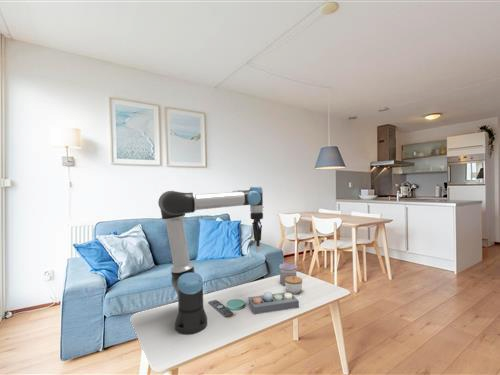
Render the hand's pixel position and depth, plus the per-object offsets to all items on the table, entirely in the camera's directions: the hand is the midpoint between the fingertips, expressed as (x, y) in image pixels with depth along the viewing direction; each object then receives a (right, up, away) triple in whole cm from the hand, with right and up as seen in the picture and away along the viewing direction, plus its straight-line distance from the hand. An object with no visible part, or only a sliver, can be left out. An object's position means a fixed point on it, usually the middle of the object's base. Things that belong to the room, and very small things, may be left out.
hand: (257, 251), depth 153 cm
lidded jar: (+22, -26, +4) cm, 35 cm away
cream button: (+17, -25, -11) cm, 32 cm away
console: (+8, -26, -13) cm, 31 cm away
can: (+21, -26, +17) cm, 38 cm away
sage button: (+11, -25, -12) cm, 30 cm away
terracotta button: (-1, -25, -15) cm, 30 cm away
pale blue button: (+5, -23, -14) cm, 28 cm away
